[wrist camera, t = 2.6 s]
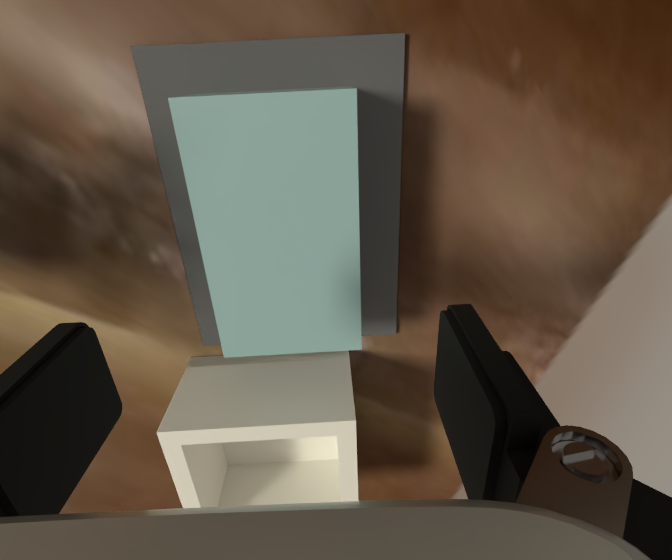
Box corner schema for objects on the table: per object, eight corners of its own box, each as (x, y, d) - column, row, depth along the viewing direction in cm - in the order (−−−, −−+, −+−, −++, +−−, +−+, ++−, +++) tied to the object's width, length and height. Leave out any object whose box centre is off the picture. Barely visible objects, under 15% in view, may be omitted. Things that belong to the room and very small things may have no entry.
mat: (132, 46, 17) (130, 46, 17) (404, 33, 18) (404, 32, 17) (203, 343, 25) (203, 345, 25) (395, 332, 25) (396, 334, 25)
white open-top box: (191, 357, 25) (156, 432, 20) (348, 348, 25) (356, 420, 20) (219, 463, 30) (197, 548, 24) (352, 455, 30) (359, 538, 24)
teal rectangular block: (197, 94, 18) (167, 97, 15) (349, 86, 18) (356, 88, 15) (238, 315, 24) (224, 357, 20) (355, 309, 24) (361, 349, 20)
